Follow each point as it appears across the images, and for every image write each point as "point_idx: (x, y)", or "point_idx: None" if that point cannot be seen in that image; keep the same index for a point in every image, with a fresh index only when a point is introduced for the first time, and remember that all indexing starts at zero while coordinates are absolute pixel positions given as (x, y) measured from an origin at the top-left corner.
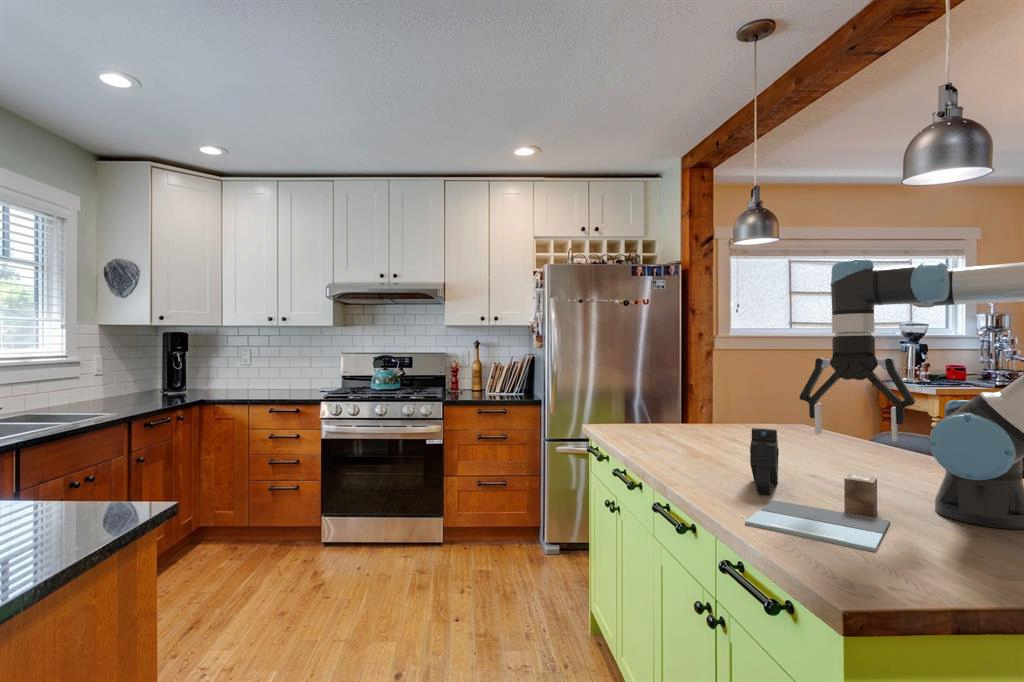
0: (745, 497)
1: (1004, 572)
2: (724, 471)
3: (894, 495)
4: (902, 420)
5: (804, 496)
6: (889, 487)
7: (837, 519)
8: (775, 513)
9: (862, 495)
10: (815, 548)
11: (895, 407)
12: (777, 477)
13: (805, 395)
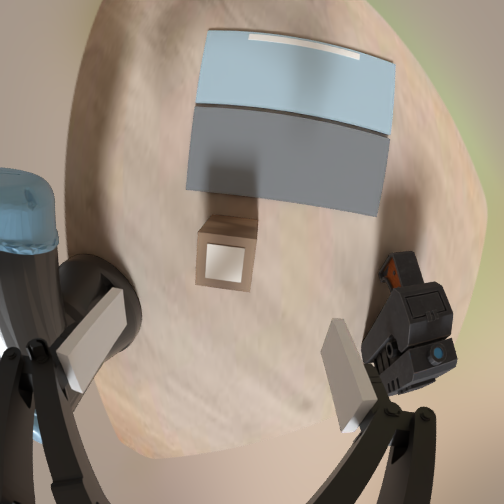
0: (414, 227)
1: (85, 69)
2: None
3: (196, 361)
4: (67, 329)
5: (325, 290)
6: (206, 394)
7: (266, 142)
8: (366, 126)
9: (224, 226)
10: (285, 6)
11: (71, 382)
12: (367, 342)
13: (419, 425)
